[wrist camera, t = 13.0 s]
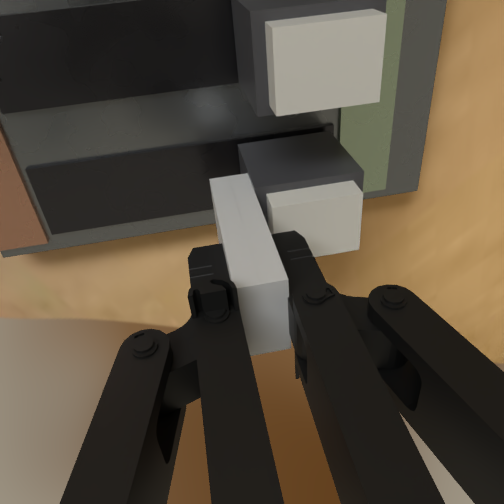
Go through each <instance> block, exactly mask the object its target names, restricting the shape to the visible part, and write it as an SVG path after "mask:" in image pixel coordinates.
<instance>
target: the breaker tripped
mask: <svg viewBox="0 0 504 504" xmlns="http://www.w3.org/2000/svg"><path fill="white" fill-rule="evenodd" d="M238 153H239V163H240V173H241V174H245V173H248V176H249V179H250V181H251V184H252V186H253V189H254V192H255V194H256V196H257V199H258V202H259V204H260V207H261V209H262V212H263V215H264V217H265V220H266V222H267V225H268V228H269V230H270V233H271V234H275V233H281V232H287V231H293V230H295V231H296V232H298V233H299V234H300V235H302V236H303V237H304V238H305V240H306V242H307V244H308V246H309V249H310V250H311V252H312V254H313V256H314V257H319V256H325V255H331V254H337V253H342V252H348V251H354V250H359V244H360V231H361V217H362V204H363V181H364V170H363V169H362V168H361V167H360V166H359V164H358V163H357V162H356V161H355V160H354V159H353V157H352V156H351V155H350V154H349V153H348V152H347V151H346V149H345V148H344V147H343V146H342V145H341V144H340V142H339V141H338V140H337V139H336V138H335V137H334V135H333V134H332V133H331V132H330V131H325V132H318V133H311V134H305V135H298V136H291V137H284V138H277V139H270V140H263V141H257V142H250V143H243V144H238Z"/></svg>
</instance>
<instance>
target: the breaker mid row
mask: <svg viewBox="0 0 504 504" xmlns="http://www.w3.org/2000/svg"><path fill="white" fill-rule="evenodd" d="M386 2H387V0H231V5H232V16H233V26H234V37H235V48H236V58H237V69H238V79H239V84H240V86H241V87H242V89H243V91H244V93H245V95H246V97H247V98H248V100H249V102H250V104H251V106H252V107H253V109H254V111H255V113H256V115H257V117H261V116H268V115H276V117H277V116H284V115H291V114H298V113H305V112H312V111H319V110H326V109H333V108H340V107H347V106H354V105H362V104H369V103H376V102H379V101H380V90H381V79H382V67H383V56H384V44H385V33H386V21H387V14H386Z"/></svg>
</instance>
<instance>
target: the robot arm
mask: <svg viewBox="0 0 504 504" xmlns="http://www.w3.org/2000/svg"><path fill="white" fill-rule="evenodd" d="M209 180H210V187H211V194H212V201H213V207H214V214H215V221H216V227H217V234H218V240H219V244H215V245H209V246H203V247H197V248H193V249H192V251H191V253H190V255H189V257H188V264H189V274H190V283H191V288H190V289H189V292H188V300H189V305H190V309H191V314H192V315H191V318H190V319H189V320H188V322H187V323H186V324H184V325H183V326H182V327H180V328H179V329H177V330H175V331H173V332H171V333H168V334H165V333H163V332H162V331H160V330H155V329H147V330H141V331H139V332H136V333H134V334H132V335H130V336H129V337H128V338H127V339H126V340H125V341H124V342H123V344H122V345H121V347H120V349H119V351H118V354H117V357H116V359H115V362H114V364H113V367H112V369H111V372H110V375H109V377H108V380H107V382H106V385H105V387H104V390H103V393H102V395H101V398H100V400H99V403H98V406H97V409H96V411H95V413H94V416H93V419H92V421H91V424H90V427H89V429H88V432H87V434H86V437H85V439H84V442H83V444H82V447H81V450H80V452H79V455H78V457H77V460H76V463H75V465H74V468H73V470H72V473H71V476H70V478H69V481H68V483H67V486H66V489H65V491H64V494H63V496H62V499H61V501H60V504H167V500H168V495H169V490H170V485H171V480H172V475H173V470H174V465H175V460H176V455H177V450H178V445H179V440H180V436H181V430H182V426H183V421H184V416H185V411H186V405H187V404H189V403H191V402H193V401H195V400H196V399H198V398H200V397H201V405H202V414H203V425H204V434H205V444H206V454H207V464H208V473H209V482H210V493H211V502H212V504H284V501H283V497H282V492H281V489H280V484H279V479H278V475H277V471H276V466H275V462H274V458H273V453H272V449H271V444H270V440H269V436H268V431H267V427H266V422H265V418H264V414H263V410H262V405H261V401H260V396H259V392H258V388H257V383H256V379H255V374H254V370H253V366H252V361H251V357H250V356H253V355H258V354H263V353H269V352H274V351H279V350H285V349H289V348H291V340H292V343H293V346H294V349H295V373H296V379H298V378H299V375H300V378H301V381H302V385H303V388H304V390H305V394H306V397H307V400H308V403H309V406H310V409H311V412H312V415H313V418H314V422H315V425H316V428H317V431H318V434H319V437H320V440H321V443H322V446H323V450H324V453H325V455H326V459H327V462H328V464H329V468H330V471H331V474H332V477H333V480H334V483H335V487H336V490H337V493H338V496H339V499H340V502H341V504H445V502H444V500H443V498H442V496H441V495H440V492H439V491H438V489H437V487H436V485H435V483H434V481H433V479H432V477H431V475H430V473H429V471H428V469H427V467H426V465H425V463H424V461H423V459H422V457H421V455H420V453H419V451H418V449H417V447H416V445H415V443H414V441H413V439H412V437H411V435H410V433H409V431H408V429H407V427H406V425H405V423H404V421H403V419H402V417H401V415H402V416H403V417H404V418H405V419H406V421H407V422H408V423H409V424H410V426H411V427H412V428H413V429H414V430H415V431H416V433H417V434H418V435H419V436H420V438H421V439H422V440H423V441H424V443H425V444H426V445H427V446H428V447H429V449H430V450H431V451H432V452H433V453H434V455H435V456H436V457H437V458H438V460H439V461H440V462H441V463H442V464H443V465H444V467H445V468H446V469H447V470H448V472H449V473H450V474H451V475H452V477H453V478H454V479H455V480H456V481H457V483H458V484H459V485H460V486H461V487H462V489H463V490H464V491H465V492H466V493H467V495H468V496H469V497H470V498H471V499H472V501H473V502H474V503H475V504H504V372H503V371H502V370H501V369H500V368H499V367H497V366H496V365H495V364H494V363H493V362H492V361H491V360H489V359H488V358H487V357H486V356H485V355H484V354H483V353H481V352H480V351H479V350H478V349H477V348H476V347H475V346H473V345H472V344H471V343H470V342H469V341H468V340H467V339H465V338H464V337H463V336H462V335H461V334H460V333H459V332H457V331H456V330H455V329H454V328H453V327H452V326H451V325H449V324H448V323H447V322H446V321H445V320H444V319H443V318H441V317H440V316H439V315H438V314H437V313H436V312H435V311H433V310H432V309H431V308H430V307H429V306H428V305H427V304H425V303H424V302H423V301H422V300H421V299H420V298H419V297H417V296H416V295H415V294H414V293H413V292H411V291H410V290H408V289H406V288H404V287H401V286H398V285H383V286H378V287H377V288H375V289H373V290H372V291H371V293H370V294H369V298H366V297H352V296H346V295H342V294H339V292H338V291H337V290H336V289H335V287H333V286H332V285H330V284H328V283H326V281H325V279H324V277H323V274H322V272H321V270H320V268H319V266H318V264H317V262H316V260H315V258H314V256H313V254H312V252H311V250H310V249H309V246H308V244H307V242H306V240H305V238H304V237H303V236H302V235H300V234H299V233H298V232H296V231H295V230H293V231H287V232H281V233H275V234H271V233H270V230H269V228H268V225H267V222H266V220H265V217H264V215H263V212H262V209H261V207H260V204H259V202H258V199H257V196H256V194H255V192H254V189H253V186H252V184H251V181H250V179H249V176H248V173H245V174H239V175H232V176H226V177H219V178H212V179H209ZM399 412H400V413H401V415H400V413H399Z"/></svg>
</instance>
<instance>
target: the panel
mask: <svg viewBox="0 0 504 504" xmlns="http://www.w3.org/2000/svg"><path fill="white" fill-rule="evenodd" d="M446 3H447V0H387V2H386V14H387V21H386V33H385V44H384V56H383V67H382V79H381V90H380V101H379V102H376V103H369V104H362V105H354V106H347V107H340V108H333V109H326V110H319V111H312V112H305V113H298V114H291V115H284V116H277V117H276V115H268V116H261V117H257V115H256V113H255V111H254V109H253V107H252V106H251V104H250V102H249V100H248V98H247V97H246V95H245V93H244V91H243V89H242V87H241V86H240V84H239V79H238V69H237V58H236V48H235V37H234V26H233V16H232V5H231V0H0V252H1V254H2V256H3V258H4V257H11V256H17V255H23V254H29V253H35V252H41V251H48V250H54V249H60V248H66V247H72V246H79V245H85V244H91V243H97V242H103V241H109V240H116V239H122V238H128V237H134V236H140V235H146V234H153V233H159V232H165V231H171V230H177V229H184V228H190V227H196V226H202V225H208V224H214V223H216V221H215V214H214V207H213V201H212V194H211V187H210V180H209V179H212V178H219V177H226V176H232V175H239V174H241V173H240V163H239V153H238V144H243V143H250V142H257V141H263V140H270V139H277V138H284V137H291V136H298V135H305V134H311V133H318V132H325V131H330V132H331V133H332V134H333V135H334V137H335V138H336V139H337V140H338V141H339V142H340V144H341V145H342V146H343V147H344V148H345V149H346V151H347V152H348V153H349V154H350V155H351V156H352V157H353V159H354V160H355V161H356V162H357V163H358V164H359V166H360V167H361V168H362V169H363V170H364V181H363V199H369V198H375V197H381V196H387V195H394V194H400V193H406V192H412V191H417V190H418V183H419V177H420V170H421V164H422V157H423V151H424V145H425V138H426V132H427V125H428V119H429V112H430V106H431V99H432V93H433V87H434V80H435V74H436V67H437V61H438V54H439V48H440V41H441V35H442V28H443V22H444V16H445V9H446Z"/></svg>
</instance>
